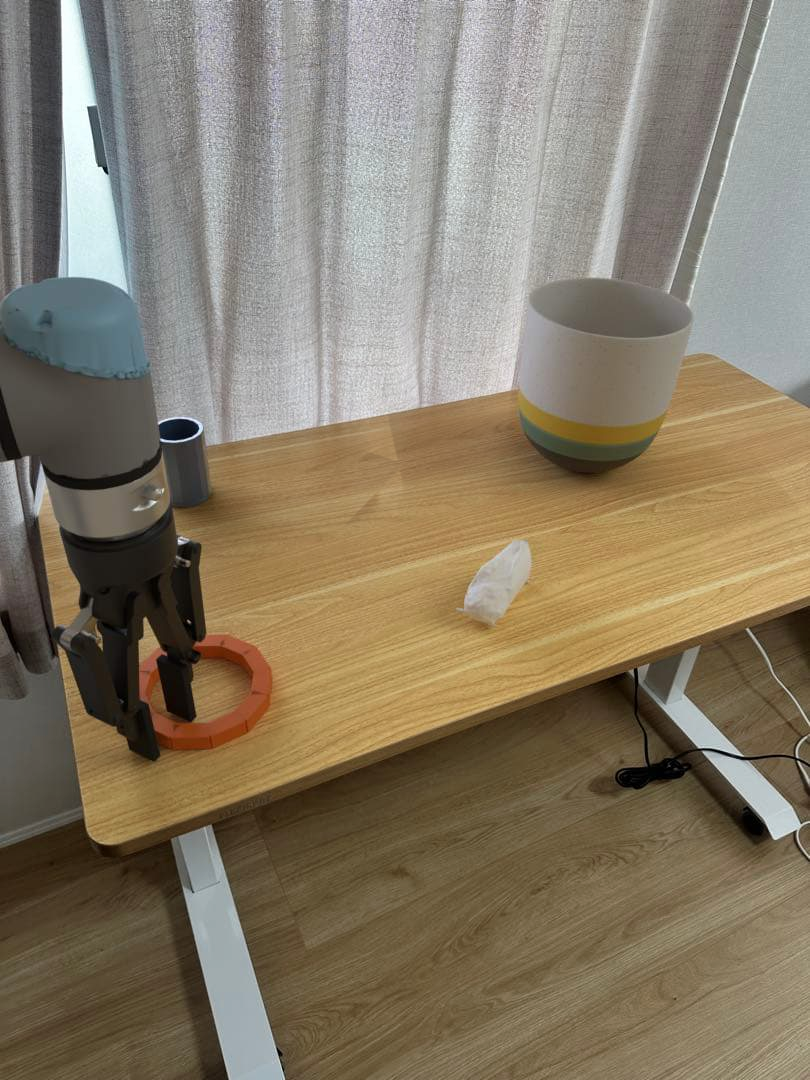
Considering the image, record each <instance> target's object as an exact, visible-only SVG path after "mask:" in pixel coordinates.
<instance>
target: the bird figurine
mask: <svg viewBox="0 0 810 1080" xmlns="http://www.w3.org/2000/svg"><path fill="white" fill-rule="evenodd" d="M529 546H530V542H529V541H527V539H526V538H523V539H520V540H519V539H518V538H517V539H516V538H515V539H514V540H512V542H511V543H509V544H508V545H507V546H506V547H505V548H503V550H501V551H500V552H499V553H497V554H496V555H495V556H494V557H493V558H492V559H490V560H488V562H485V563H484V564H482V566H481V567H480V568H479V569H478V571H477V573H476V574H475V575H474V577H473V579H472V581H471V582H470V583H469V585H468V587H467V590H466V594H465V596H464V600H463V601H464V602H463V604H464V605H463V608H461V607H456V609H455V610H456V611H457V612H460V613H463V614H464V615H467V616H468V617H469V619H471V620H472V621H477V622H481V623H485V624H486V625H488V626H489V627H493V628H498V626H499V625H497V624H495V623H496V622H497V621H499V620H501V619H502V618H503V616H504V615H505V614H506V612H507V610H508V609H510V607H511V605H512V604H513V602H514V600H515V598H516V597H517V595H518V594H519V592H520V591H521V590H522V589H523V587H524V585H525V584H526V583H527V584H529V583H530V580H531V577H530V574H531V571H532V568H533V565H532V563H533V562H532V555H531V548H530V547H529Z"/></svg>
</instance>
